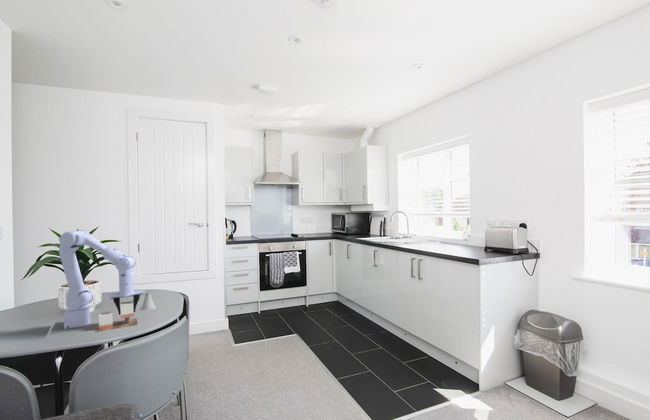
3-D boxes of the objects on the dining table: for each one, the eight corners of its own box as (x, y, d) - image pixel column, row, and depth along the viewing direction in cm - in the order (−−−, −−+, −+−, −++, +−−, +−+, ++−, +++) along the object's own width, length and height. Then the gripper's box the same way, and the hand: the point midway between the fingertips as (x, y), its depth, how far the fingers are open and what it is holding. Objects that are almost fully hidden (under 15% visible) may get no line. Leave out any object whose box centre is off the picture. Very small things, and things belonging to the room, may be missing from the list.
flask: (149, 313, 168) (149, 293, 168) (137, 312, 170) (136, 293, 170) (159, 308, 175) (158, 290, 175) (147, 308, 177) (147, 289, 177)
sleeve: (120, 318, 147) (120, 305, 147) (120, 315, 151) (120, 302, 151) (133, 316, 149) (133, 303, 149) (133, 313, 154) (132, 300, 154)
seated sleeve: (99, 329, 143) (98, 315, 142) (99, 325, 147) (99, 312, 147) (112, 327, 145) (112, 313, 145) (112, 323, 149) (112, 310, 149)
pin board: (94, 335, 140) (94, 322, 140) (95, 328, 148) (95, 316, 148) (137, 327, 148) (137, 315, 148) (136, 321, 157) (136, 309, 157)
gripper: (107, 287, 143) (107, 318, 143) (145, 282, 150) (145, 312, 151) (107, 284, 149) (108, 313, 149) (144, 279, 156) (144, 308, 157)
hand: (127, 312), depth 150 cm, fingers closed on sleeve, 5 cm apart
